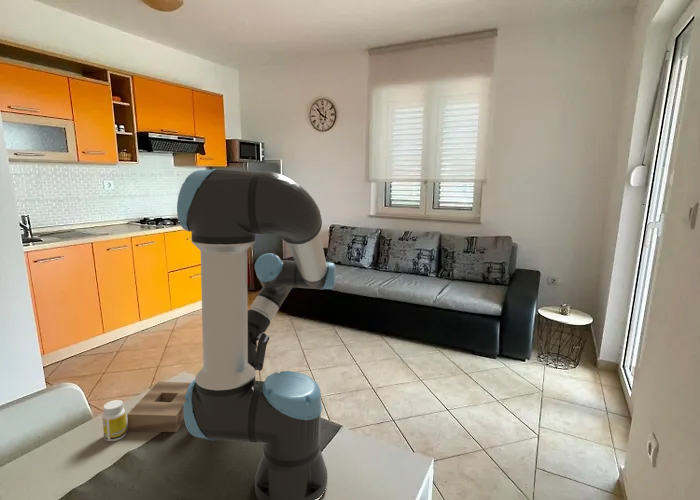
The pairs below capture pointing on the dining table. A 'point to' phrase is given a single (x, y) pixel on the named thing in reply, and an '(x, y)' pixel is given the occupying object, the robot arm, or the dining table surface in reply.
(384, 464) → the dining table surface
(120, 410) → the supplement bottle
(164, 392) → the walnut block
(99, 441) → the dining table surface
